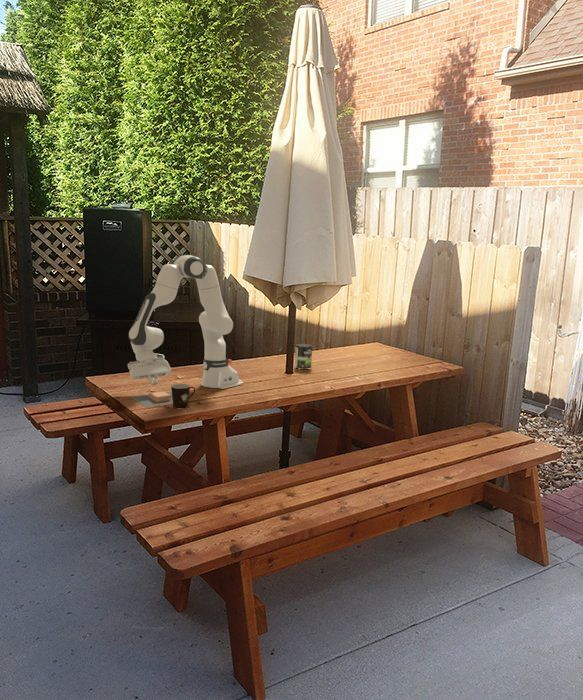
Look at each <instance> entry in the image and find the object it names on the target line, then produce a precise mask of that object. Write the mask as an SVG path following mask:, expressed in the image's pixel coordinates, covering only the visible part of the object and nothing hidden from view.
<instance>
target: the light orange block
mask: <svg viewBox="0 0 583 700" xmlns="http://www.w3.org/2000/svg"><path fill="white" fill-rule="evenodd" d="M166 392H167V391H165V390H158V391H151V392H150V391H149V392H148V395H149V398H151V399H152V400H154V401H156V402H162V401H169V400H171V395H169V394H167V393H166Z"/></svg>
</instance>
